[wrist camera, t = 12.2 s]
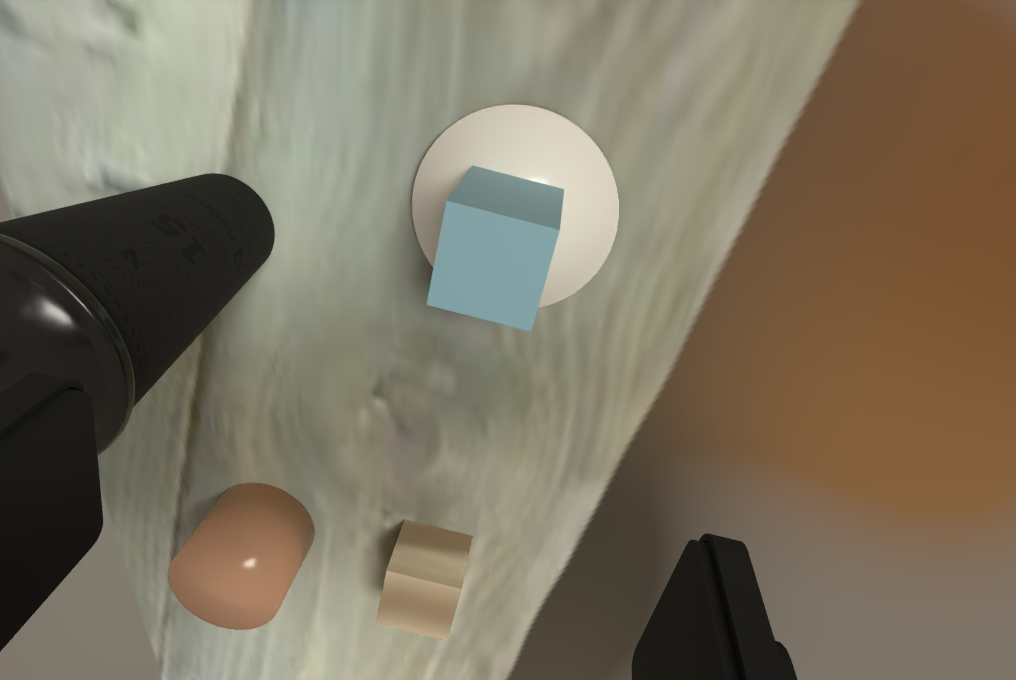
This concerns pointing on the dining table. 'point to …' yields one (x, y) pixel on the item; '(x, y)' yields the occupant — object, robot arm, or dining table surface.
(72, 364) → the drinking cup
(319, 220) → the dining table surface
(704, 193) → the dining table surface
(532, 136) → the cream shiny round part
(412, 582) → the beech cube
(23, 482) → the robot arm
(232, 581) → the peach cylinder
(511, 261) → the teal block
